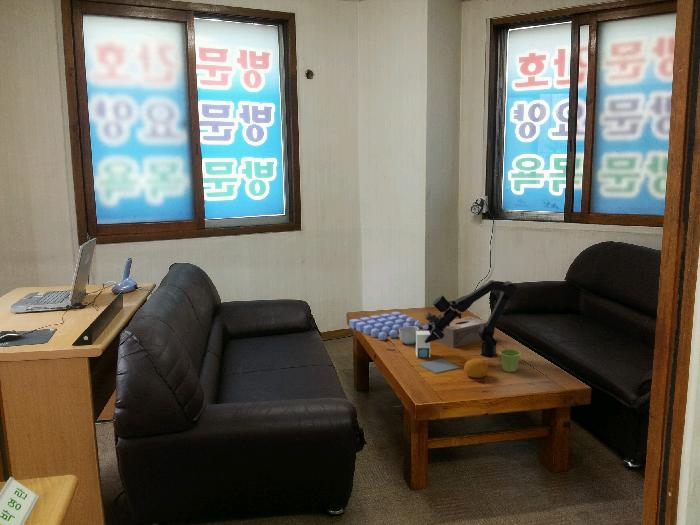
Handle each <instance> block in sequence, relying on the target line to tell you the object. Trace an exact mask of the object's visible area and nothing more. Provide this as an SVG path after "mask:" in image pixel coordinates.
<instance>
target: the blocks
mask: <svg viewBox="0 0 700 525" xmlns="http://www.w3.org/2000/svg"><path fill="white" fill-rule="evenodd" d="M348 321H349V323H348V324H349V326H348V327H349V328H351V329H352V330H353V329H354V330H355V331H357V332H360V333H361V332H363V334H365V335H367V336H368V335H370V336H371V337H372V338H378V339H379V340H380V341H386V340H387V339H388V336H389V337H390V338H391V339H396V338H398V337H399V329H400V328H401V327H406V326H414V327H418V328H419V329H421V328H422V330H423V331H426V330H427V328H428V323H425V324H424V325H423V323H422V322H421V321H420V320H416V319H415V318H414V317H412V316H411V317H409V316H408V315H407V314H402V312H399V311H393V312H391V313H390V314H389V313H380V315H377V314H375V315H371V316H369V317H367V316H364V317H360V318H359V319H358V318H353V319H349V320H348ZM422 326H423V327H422Z"/></svg>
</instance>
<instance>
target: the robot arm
mask: <svg viewBox="0 0 700 525" xmlns="http://www.w3.org/2000/svg"><path fill="white" fill-rule="evenodd" d="M494 290H496V291H497V292H500V293H499V297H498V299H497V302H496V303H495V306H494V307H493V310H491V313H490V316H489V318H488V320H487V322H486V323H485V324H483V323H482V324H481V327H480V329H478V330H479V336H480V338H481V339H482V340H483V341H482V343H481V345H480V346H481V350H480V351H481V353H480V356H483V357H488V358H494V357H497V356H498V355H499V353H497V344H498V340H497V339H495V337H494V334H495V331H496V330H495V328H496V325H497V323H498V321H499V319H500V317H501V315H502V313H503V312H504V310H505V308H506V305H507V304H508V302H509V301H510V300H511V299H512V298H513V297H514V296H515V294H516V293H517V291H518V289H517V285H516V284H515V283H513V282H512V281H511V280H510V281H509V280H506V281H499V280H493V279H491V280H489V281H488V282H486V283H485V284H483V285H482V286H481V287H478V288H477V289H476V290H473V291H472V292H471V293H469V294H467V295H463V296H461V297H459V298H456V299H455V300H450V301H449V299H448V300H447V298H446V297H445V296H444V295H443V294H442V295H441V296H439V297H437V298H436V299H435V300H434V301H433V302H432V306H433V307H434V308H435V309H436V310H437V311H439V312H440V313H443V314H439V315H437V314H434V313H432V312H430V311H428V312H427V314H426V315H425V320H427V321H428V322H427V325H428V328H427V330H426V331H429V332H430V335H429V336H428V338H427V339H426V340H425V343H428V342H430V343H431V342H434V341H435V340H438V339H442V338H443V337H444V333H443V331H444V329H445V328H446V327H447V326H450V323H451V322H452V321H453V320H455V319H456V318H458V319H461V318H462V313H464V312H466V311H467V310H468V309H469V308H470V307H471V306H472V305H473V304H474V303H476V301H477V300H479V299H481V298H483V297H484V296H486V295H487V294H489V293H490V292H492V291H494Z"/></svg>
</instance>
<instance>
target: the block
mask: <svg viewBox="0 0 700 525" xmlns="http://www.w3.org/2000/svg"><path fill="white" fill-rule="evenodd" d="M427 357H428V354H427V348H419V354H418V358H427Z"/></svg>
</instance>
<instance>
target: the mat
mask: <svg viewBox="0 0 700 525" xmlns="http://www.w3.org/2000/svg"><path fill="white" fill-rule="evenodd" d="M418 365H419V366H421V367H422V368H425V369H426V370H428V371H430V372H432V373H433V374H439V373H445V372H449V371H454V370H458V369H460V368H461V367H460V366H458V365H456V364H454V363H452V362H450V361H447V359H443V358H439V359H435V360H429V361H424V362H420V363H418Z"/></svg>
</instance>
